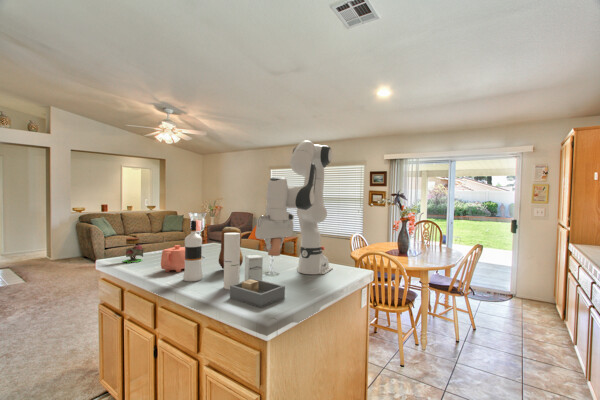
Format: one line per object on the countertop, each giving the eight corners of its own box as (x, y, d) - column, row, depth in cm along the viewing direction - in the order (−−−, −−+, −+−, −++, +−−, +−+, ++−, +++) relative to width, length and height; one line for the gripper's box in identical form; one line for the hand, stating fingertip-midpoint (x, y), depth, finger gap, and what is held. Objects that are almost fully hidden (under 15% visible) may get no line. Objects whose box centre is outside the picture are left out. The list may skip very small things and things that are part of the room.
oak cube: (250, 290, 127) (250, 279, 127) (258, 293, 124) (258, 281, 124) (241, 293, 123) (241, 281, 123) (249, 296, 120) (249, 284, 120)
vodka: (179, 281, 143) (180, 220, 143) (189, 276, 152) (190, 219, 152) (196, 282, 141) (197, 221, 141) (206, 277, 151) (206, 220, 150)
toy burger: (142, 262, 183) (142, 239, 183) (119, 263, 180) (120, 239, 179) (146, 259, 195) (146, 236, 195) (124, 260, 191) (125, 237, 191)
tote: (254, 289, 131) (254, 278, 131) (284, 298, 121) (284, 286, 121) (229, 297, 120) (230, 285, 120) (260, 308, 109) (261, 294, 109)
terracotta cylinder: (275, 253, 125) (276, 237, 125) (282, 255, 121) (283, 238, 121) (265, 254, 121) (266, 237, 122) (272, 256, 118) (273, 239, 118)
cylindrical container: (226, 284, 139) (226, 232, 138) (241, 284, 138) (241, 232, 138) (221, 289, 131) (222, 234, 131) (237, 289, 131) (237, 234, 131)
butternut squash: (246, 268, 171) (247, 226, 171) (236, 274, 158) (237, 228, 158) (225, 267, 174) (225, 225, 174) (213, 272, 161) (214, 227, 161)
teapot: (179, 264, 179) (179, 241, 179) (198, 266, 176) (198, 242, 176) (154, 273, 157) (154, 247, 157) (175, 275, 154) (175, 248, 154)
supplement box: (247, 284, 140) (248, 258, 140) (244, 280, 147) (244, 255, 146) (262, 282, 143) (262, 256, 143) (258, 278, 149) (258, 254, 149)
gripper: (264, 216, 111) (262, 252, 111) (296, 215, 127) (294, 247, 127) (252, 215, 115) (250, 249, 115) (285, 214, 131) (283, 245, 131)
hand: (274, 248), depth 121 cm, fingers closed on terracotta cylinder, 5 cm apart
